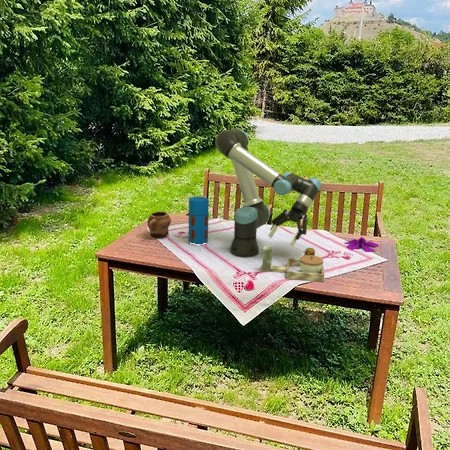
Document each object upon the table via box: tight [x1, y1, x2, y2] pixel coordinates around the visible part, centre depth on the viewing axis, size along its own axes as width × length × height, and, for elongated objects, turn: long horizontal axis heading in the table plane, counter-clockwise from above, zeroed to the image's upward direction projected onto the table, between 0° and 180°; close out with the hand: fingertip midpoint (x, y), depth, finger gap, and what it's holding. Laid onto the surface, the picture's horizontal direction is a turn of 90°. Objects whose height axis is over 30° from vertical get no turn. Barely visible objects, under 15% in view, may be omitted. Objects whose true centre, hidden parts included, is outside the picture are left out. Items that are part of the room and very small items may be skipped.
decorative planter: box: [147, 211, 172, 239], centre depth 247 cm, size 20×12×14 cm, turn 164°
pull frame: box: [260, 245, 325, 283], centre depth 205 cm, size 29×17×11 cm, turn 80°
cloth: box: [344, 236, 381, 253], centre depth 244 cm, size 22×19×6 cm
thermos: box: [188, 196, 210, 244], centre depth 239 cm, size 11×11×25 cm
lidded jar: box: [299, 255, 324, 274], centre depth 204 cm, size 11×11×9 cm
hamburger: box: [300, 247, 318, 257], centre depth 226 cm, size 12×12×6 cm
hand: (280, 240), depth 211 cm, fingers open, 13 cm apart
